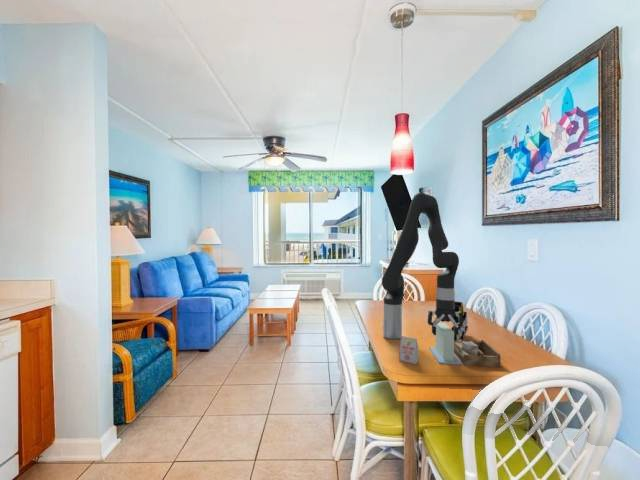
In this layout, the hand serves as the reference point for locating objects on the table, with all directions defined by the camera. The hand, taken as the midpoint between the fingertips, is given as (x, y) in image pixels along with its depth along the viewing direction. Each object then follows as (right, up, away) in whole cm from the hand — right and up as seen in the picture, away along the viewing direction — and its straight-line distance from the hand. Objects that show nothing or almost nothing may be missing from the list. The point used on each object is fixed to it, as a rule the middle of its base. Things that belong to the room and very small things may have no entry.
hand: (444, 335), depth 142 cm
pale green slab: (0, -8, 0) cm, 8 cm away
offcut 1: (+9, -9, +3) cm, 14 cm away
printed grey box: (-17, -9, -6) cm, 21 cm away
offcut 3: (+8, -9, -5) cm, 14 cm away
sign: (+16, -9, +23) cm, 30 cm away
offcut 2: (+8, -5, -5) cm, 11 cm away
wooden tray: (+12, -9, -1) cm, 15 cm away
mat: (0, -9, 0) cm, 9 cm away
